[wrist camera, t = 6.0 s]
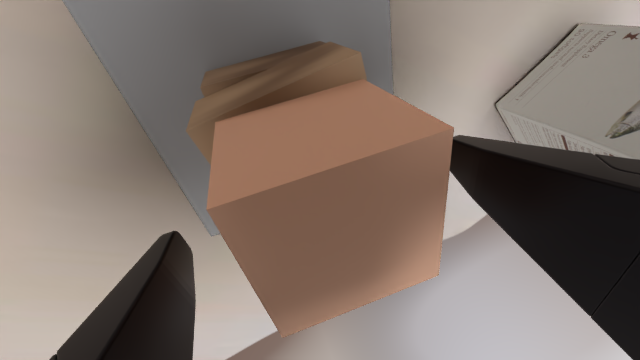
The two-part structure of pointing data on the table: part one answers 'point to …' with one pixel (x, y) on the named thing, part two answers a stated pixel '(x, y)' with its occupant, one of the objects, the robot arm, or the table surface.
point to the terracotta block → (331, 200)
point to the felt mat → (214, 58)
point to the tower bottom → (248, 68)
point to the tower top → (275, 88)
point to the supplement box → (582, 95)
